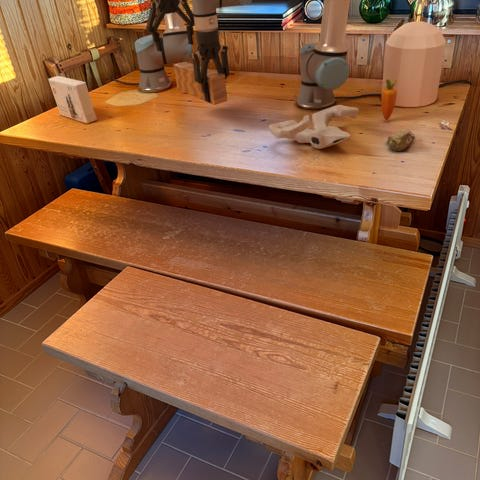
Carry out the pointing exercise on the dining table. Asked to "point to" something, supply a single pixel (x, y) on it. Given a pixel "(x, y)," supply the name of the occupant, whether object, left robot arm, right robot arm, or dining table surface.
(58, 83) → the skincare box
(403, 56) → the container
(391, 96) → the carrot
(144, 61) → the left robot arm
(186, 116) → the dining table surface
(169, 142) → the dining table surface
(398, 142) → the rock
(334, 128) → the cream branched piece
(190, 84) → the bar
